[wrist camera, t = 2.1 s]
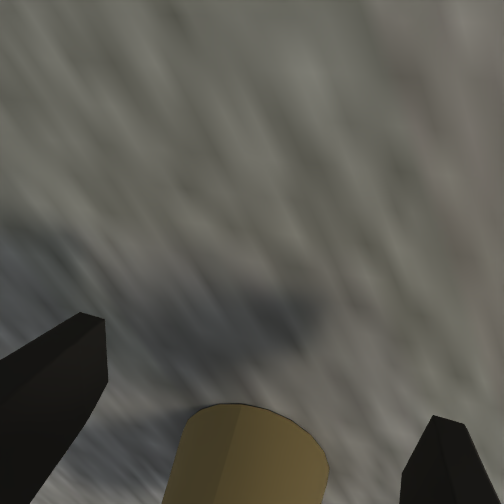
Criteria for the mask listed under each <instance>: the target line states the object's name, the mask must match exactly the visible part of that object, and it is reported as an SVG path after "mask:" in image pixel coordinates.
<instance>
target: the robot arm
mask: <svg viewBox="0 0 504 504" xmlns="http://www.w3.org/2000/svg"><path fill="white" fill-rule="evenodd" d="M107 383H108V367H107V350H106V333H105V319H102V318H99V317H95V316H92V315H89V314H85V313H82V312H79V313H78V314H76V315H74V316H73V317H71V318H69V319H67V320H66V321H64V322H62V323H61V324H59V325H57V326H56V327H54V328H53V329H51V330H49V331H48V332H46V333H44V334H43V335H41V336H40V337H38V338H36V339H35V340H33V341H31V342H30V343H28V344H26V345H25V346H23V347H21V348H20V349H18V350H17V351H15V352H13V353H11V354H10V355H8V356H6V357H5V358H3V359H1V360H0V504H30V502H31V501H32V499H33V498H34V497H35V495H36V494H37V492H38V491H39V490H40V488H41V487H42V485H43V484H44V482H45V481H46V480H47V478H48V477H49V475H50V474H51V473H52V471H53V470H54V468H55V467H56V465H57V464H58V463H59V461H60V460H61V458H62V457H63V455H64V454H65V453H66V451H67V450H68V448H69V447H70V445H71V444H72V443H73V441H74V440H75V438H76V437H77V435H78V434H79V432H80V431H81V430H82V428H83V427H84V425H85V424H86V422H87V420H88V419H89V417H90V415H91V413H92V411H93V410H94V408H95V406H96V404H97V402H98V400H99V398H100V397H101V395H102V393H103V391H104V389H105V387H106V385H107ZM399 504H501V503H500V500H499V498H498V496H497V494H496V492H495V490H494V488H493V485H492V483H491V481H490V479H489V477H488V475H487V473H486V470H485V468H484V466H483V464H482V461H481V459H480V457H479V455H478V452H477V450H476V448H475V446H474V443H473V441H472V439H471V437H470V434H469V432H468V430H467V428H466V426H465V425H464V424H462V423H459V422H455V421H452V420H448V419H445V418H442V417H438V416H435V415H433V416H432V418H431V419H430V421H429V423H428V425H427V427H426V429H425V431H424V433H423V434H422V436H421V438H420V440H419V442H418V444H417V446H416V448H415V450H414V451H413V453H412V455H411V457H410V459H409V461H408V463H407V465H406V466H405V468H404V470H403V472H402V478H401V490H400V502H399Z"/></svg>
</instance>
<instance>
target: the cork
mask: <svg viewBox="0 0 504 504" xmlns="http://www.w3.org/2000/svg"><path fill="white" fill-rule="evenodd" d="M328 474H329V466H328V463H327V460H326V456H325V453H324V451H323V450H322V449H321V448H320V446H319V445H318V444H317V442H316V441H315V440H314V439H313V437H312V436H311V435H310V434H308V433H307V432H306V431H304V430H303V429H302V428H300V427H299V426H298V425H296V424H295V423H294V422H292V421H291V420H289V419H286V418H284V417H282V416H280V415H278V414H275V413H273V412H271V411H269V410H266V409H261V408H257V407H252V406H248V405H243V404H219V405H215V406H212V407H209V408H205V409H202V410H200V411H198V412H197V413H196V414H195V415H193V416H192V417H191V418H190V419H188V421H187V423H186V425H185V428H184V430H183V433H182V436H181V439H180V443H179V446H178V449H177V453H176V456H175V460H174V463H173V466H172V470H171V473H170V477H169V480H168V483H167V487H166V490H165V494H164V497H163V501H162V504H321V502H322V499H323V495H324V492H325V488H326V485H327V480H328Z"/></svg>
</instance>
